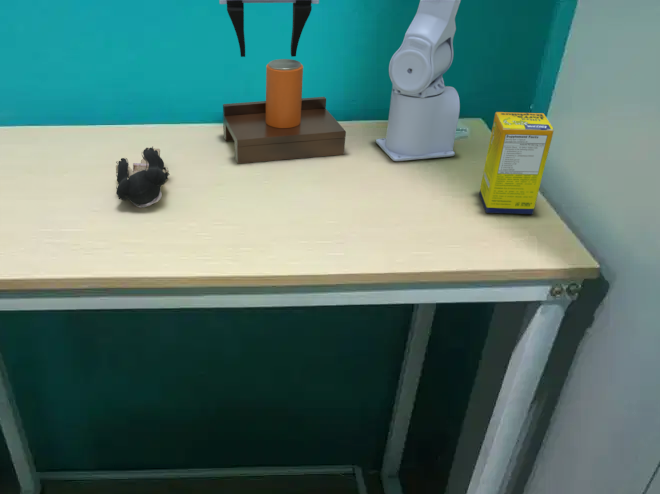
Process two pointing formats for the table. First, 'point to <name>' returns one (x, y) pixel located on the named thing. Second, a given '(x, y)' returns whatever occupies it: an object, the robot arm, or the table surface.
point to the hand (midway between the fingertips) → (268, 54)
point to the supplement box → (515, 162)
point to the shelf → (282, 132)
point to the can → (283, 93)
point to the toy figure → (142, 178)
